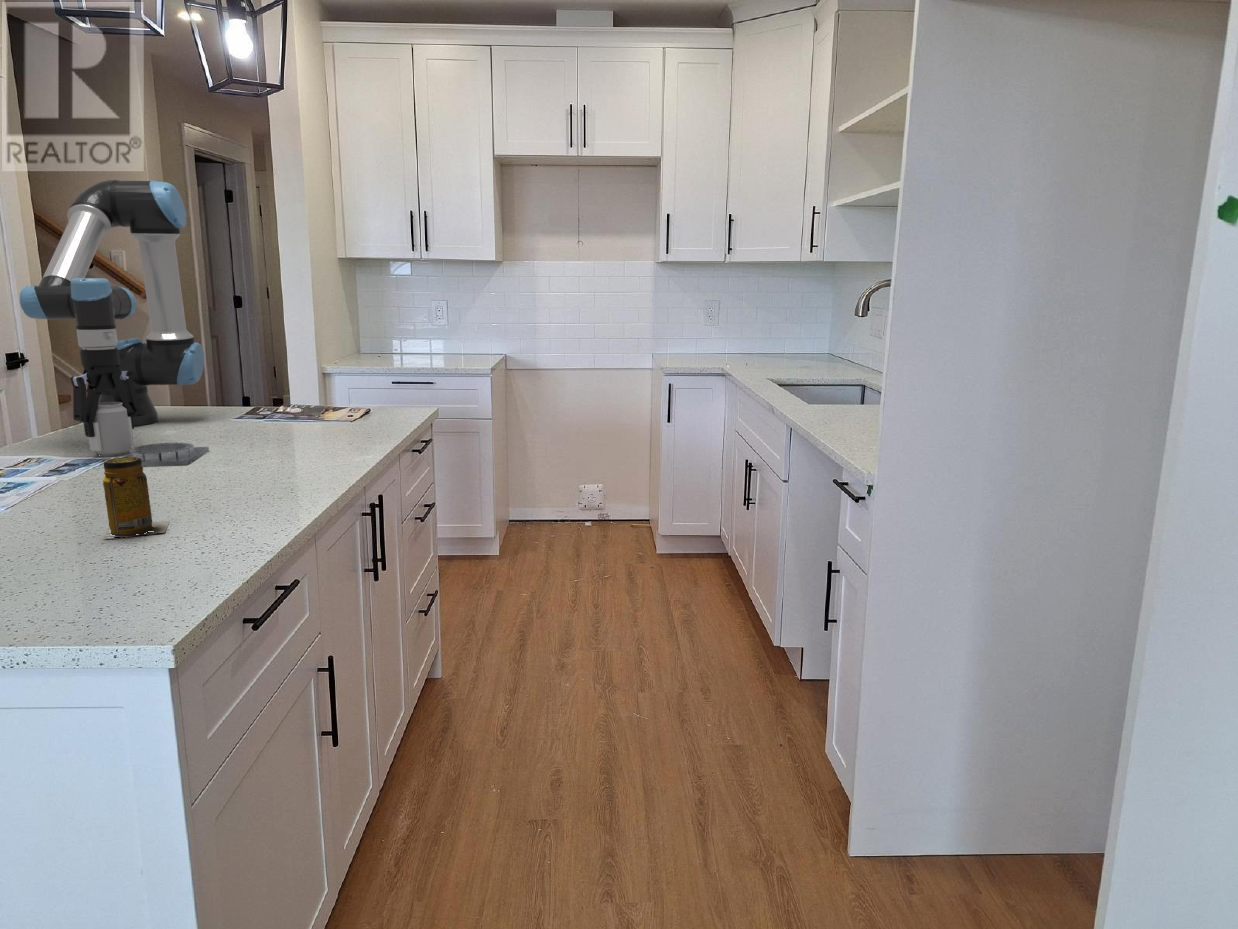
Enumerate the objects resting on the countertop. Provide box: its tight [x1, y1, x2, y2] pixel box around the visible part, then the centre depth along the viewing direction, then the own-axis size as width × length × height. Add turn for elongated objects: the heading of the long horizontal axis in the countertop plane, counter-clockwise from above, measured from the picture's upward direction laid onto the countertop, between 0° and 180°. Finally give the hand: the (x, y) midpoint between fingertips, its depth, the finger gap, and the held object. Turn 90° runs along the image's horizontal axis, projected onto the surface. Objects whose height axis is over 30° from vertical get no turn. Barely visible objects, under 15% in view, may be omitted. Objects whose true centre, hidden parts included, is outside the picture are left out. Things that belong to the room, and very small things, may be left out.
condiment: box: [102, 456, 170, 540], centre depth 130 cm, size 7×8×12 cm
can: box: [93, 402, 133, 457], centre depth 185 cm, size 8×8×12 cm
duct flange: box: [124, 441, 210, 467], centre depth 182 cm, size 15×15×2 cm
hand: (112, 446), depth 186 cm, fingers closed on can, 7 cm apart
